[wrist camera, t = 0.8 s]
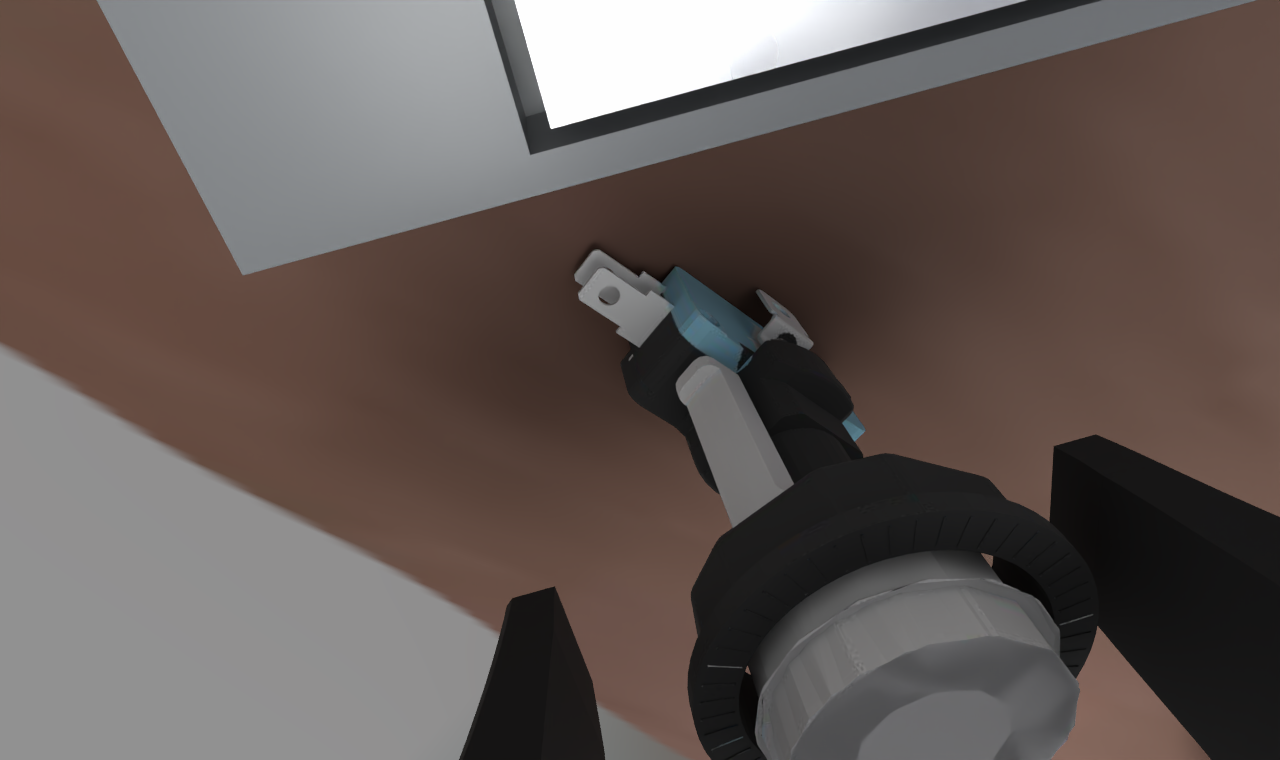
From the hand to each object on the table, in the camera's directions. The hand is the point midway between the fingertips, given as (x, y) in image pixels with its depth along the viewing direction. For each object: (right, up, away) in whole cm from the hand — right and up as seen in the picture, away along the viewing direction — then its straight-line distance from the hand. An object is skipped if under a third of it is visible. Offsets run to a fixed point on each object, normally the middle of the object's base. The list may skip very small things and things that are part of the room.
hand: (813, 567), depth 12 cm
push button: (-1, +4, +6) cm, 8 cm away
